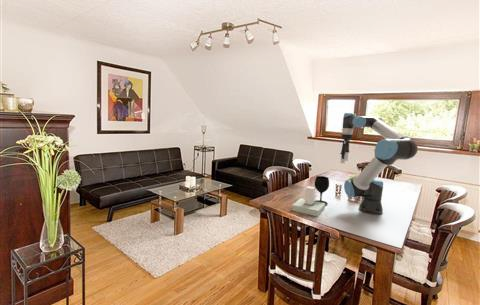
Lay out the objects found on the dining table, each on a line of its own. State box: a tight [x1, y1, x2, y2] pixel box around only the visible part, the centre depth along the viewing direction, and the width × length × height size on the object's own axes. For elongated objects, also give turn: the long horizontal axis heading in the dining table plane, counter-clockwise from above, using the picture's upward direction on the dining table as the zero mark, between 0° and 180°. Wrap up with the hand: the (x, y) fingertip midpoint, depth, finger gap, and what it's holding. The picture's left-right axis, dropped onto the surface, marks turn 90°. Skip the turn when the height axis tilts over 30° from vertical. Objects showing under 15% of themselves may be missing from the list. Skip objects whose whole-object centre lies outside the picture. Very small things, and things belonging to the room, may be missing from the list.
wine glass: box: [314, 175, 330, 206], centre depth 195 cm, size 10×10×20 cm
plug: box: [304, 185, 316, 206], centre depth 181 cm, size 5×5×16 cm
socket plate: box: [291, 197, 326, 217], centre depth 182 cm, size 18×18×4 cm
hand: (344, 161), depth 197 cm, fingers open, 13 cm apart
